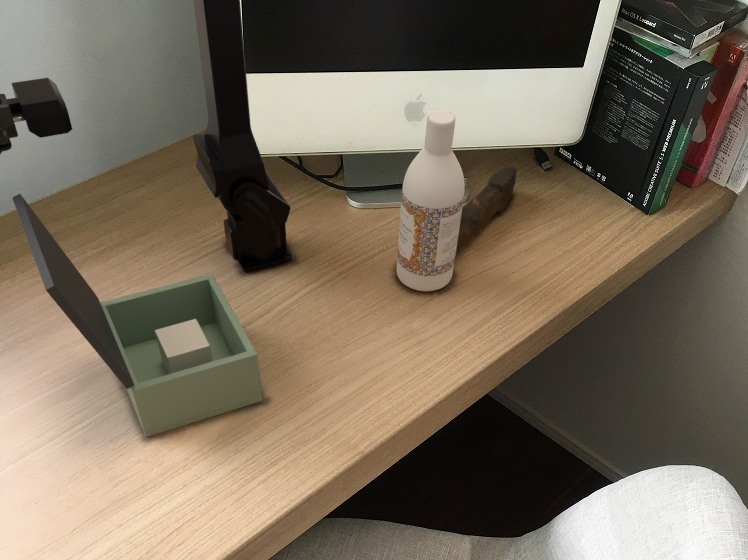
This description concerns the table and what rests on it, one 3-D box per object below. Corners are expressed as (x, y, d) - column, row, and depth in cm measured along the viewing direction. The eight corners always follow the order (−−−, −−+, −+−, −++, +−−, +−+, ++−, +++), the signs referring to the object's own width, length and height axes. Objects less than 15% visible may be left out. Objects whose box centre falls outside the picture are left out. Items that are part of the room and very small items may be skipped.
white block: (202, 349, 86) (196, 318, 83) (215, 376, 84) (210, 345, 80) (162, 361, 85) (154, 329, 81) (174, 389, 83) (167, 357, 79)
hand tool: (450, 266, 98) (455, 234, 94) (424, 253, 99) (428, 221, 95) (528, 200, 107) (536, 168, 103) (504, 189, 108) (510, 157, 105)
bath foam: (387, 264, 98) (397, 104, 81) (437, 252, 99) (457, 94, 83) (409, 298, 94) (424, 138, 78) (461, 286, 96) (486, 127, 80)
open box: (220, 321, 90) (212, 273, 85) (262, 401, 83) (257, 354, 78) (111, 351, 87) (95, 303, 81) (146, 437, 80) (132, 390, 74)
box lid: (20, 193, 69) (11, 197, 69) (54, 285, 62) (45, 290, 62) (98, 297, 81) (91, 301, 81) (134, 385, 74) (127, 389, 74)
